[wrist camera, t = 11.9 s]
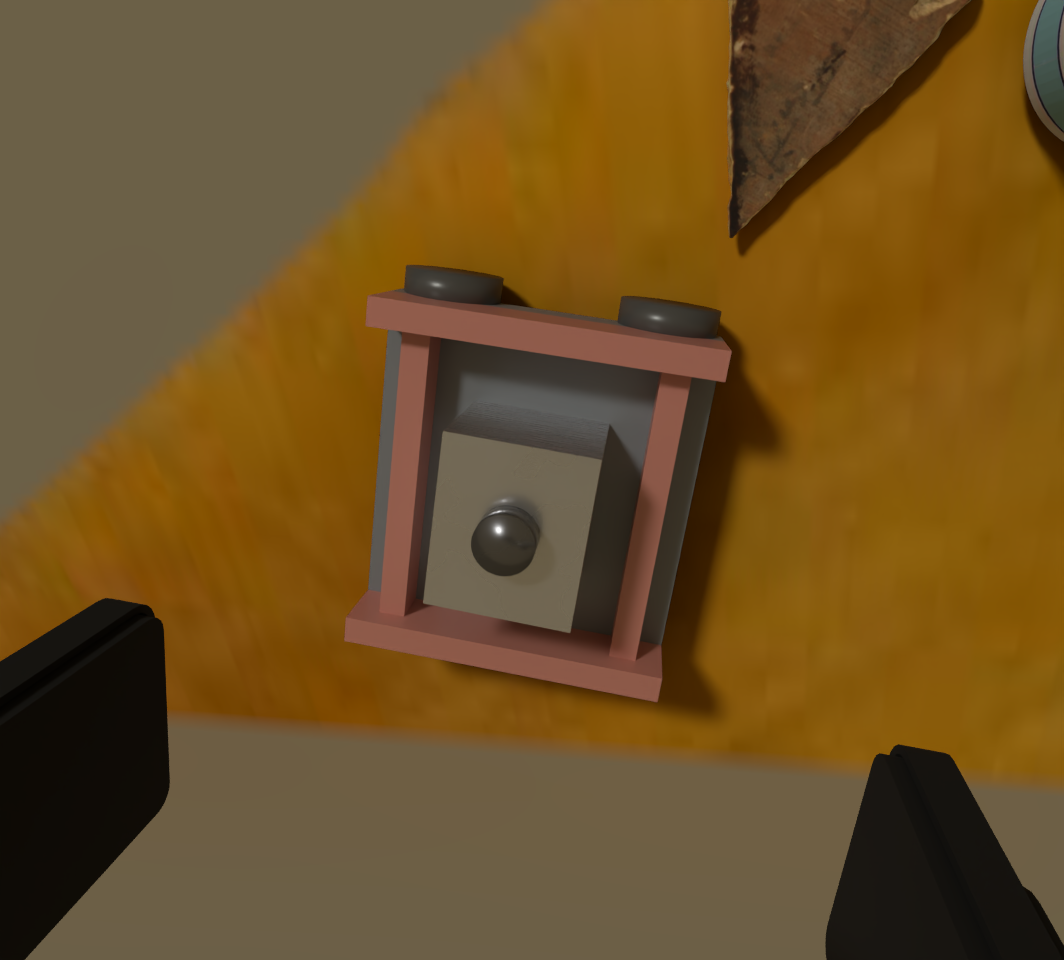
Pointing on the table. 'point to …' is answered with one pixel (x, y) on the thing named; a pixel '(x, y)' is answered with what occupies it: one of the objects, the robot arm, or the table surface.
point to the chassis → (560, 388)
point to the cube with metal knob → (514, 513)
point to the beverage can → (1046, 64)
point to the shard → (810, 80)
